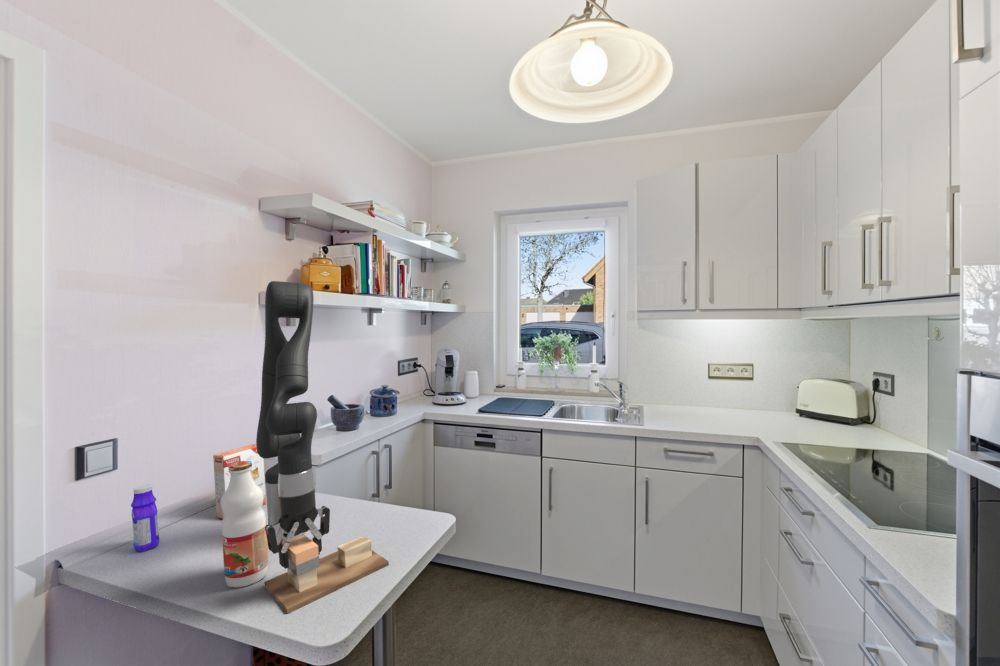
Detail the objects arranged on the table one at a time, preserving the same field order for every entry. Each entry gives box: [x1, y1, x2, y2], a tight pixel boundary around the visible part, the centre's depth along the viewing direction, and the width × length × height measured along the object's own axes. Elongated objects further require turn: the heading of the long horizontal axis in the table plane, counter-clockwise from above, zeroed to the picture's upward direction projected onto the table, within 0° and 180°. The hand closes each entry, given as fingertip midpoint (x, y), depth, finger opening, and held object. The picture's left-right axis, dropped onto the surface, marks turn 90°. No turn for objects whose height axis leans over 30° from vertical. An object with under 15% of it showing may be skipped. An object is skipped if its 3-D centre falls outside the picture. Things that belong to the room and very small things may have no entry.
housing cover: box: [287, 534, 320, 565], centre depth 102 cm, size 8×5×2 cm, turn 45°
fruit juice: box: [221, 461, 270, 588], centre depth 107 cm, size 9×9×28 cm
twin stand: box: [263, 535, 390, 614], centre depth 106 cm, size 15×24×5 cm, turn 135°
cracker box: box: [212, 443, 267, 520], centre depth 148 cm, size 14×6×21 cm, turn 153°
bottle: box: [130, 484, 160, 553], centre depth 125 cm, size 7×6×17 cm
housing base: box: [288, 555, 320, 577], centre depth 102 cm, size 8×5×2 cm, turn 45°
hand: (301, 560), depth 102 cm, fingers open, 6 cm apart
